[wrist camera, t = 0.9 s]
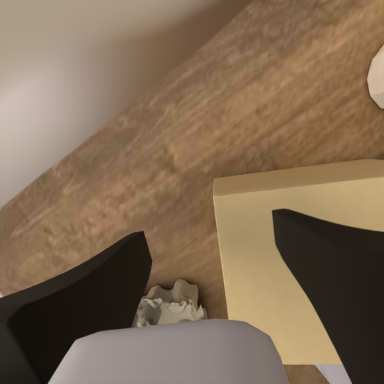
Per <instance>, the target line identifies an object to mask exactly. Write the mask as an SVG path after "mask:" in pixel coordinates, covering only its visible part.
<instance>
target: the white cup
mask: <svg viewBox="0 0 384 384" xmlns="http://www.w3.org/2000/svg"><path fill="white" fill-rule="evenodd" d="M367 82H368V88H369V93H370V97H371V98H372V99H373V100H374V101H375V102H376V103H377V105H378V106H379V107H380V108H381V109H384V45H383V46H382V47H381V49H380V50H379V51H378V53H377V54H376V55H375V57H374V58H373V59H372V62H371V66H370V69H369V73H368V77H367Z"/></svg>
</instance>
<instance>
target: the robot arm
mask: <svg viewBox="0 0 384 384" xmlns="http://www.w3.org/2000/svg"><path fill="white" fill-rule="evenodd" d="M272 218H273V228H274V238H275V245H276V247H277V249H278V251H279V253H280V255H281V257H282V259H283V261H284V262H285V264H286V265H287V267H288V268H289V270H290V272H291V273H292V275H293V276H294V277H295V279H296V280H297V282H298V283H299V285H300V286H301V288H302V289H303V291H304V292H305V294H306V295H307V297H308V299H309V300H310V302H311V304H312V305H313V307H314V309H315V311H316V313H317V315H318V317H319V319H320V320H321V322H322V324H323V326H324V328H325V330H326V332H327V334H328V336H329V338H330V340H331V342H332V344H333V346H334V348H335V350H336V352H337V354H338V356H339V358H340V360H341V362H342V364H343V365H335V364H315V365H316V367H317V368H318V369H319V370H320V372H321V373H322V374H323V375H324V377H325V378H326V379H327V380H328V382H329V384H384V232H382V231H374V230H368V229H362V228H356V227H351V226H346V225H342V224H337V223H333V222H330V221H326V220H322V219H319V218H315V217H312V216H309V215H306V214H303V213H300V212H296V211H293V210H290V209H285V208H282V209H276V210H272ZM151 266H152V258H151V255H150V252H149V248H148V245H147V242H146V238H145V235H144V231H140V232H134V233H131V234H129V235H127V236H126V237H124V238H122V239H121V240H119V241H118V242H116V243H115V244H113V245H112V246H110V247H109V248H107V249H105V250H104V251H102V252H101V253H99V254H97V255H96V256H94V257H92V258H91V259H89V260H88V261H86V262H84V263H82V264H80V265H79V266H77V267H75V268H73V269H71V270H69V271H67V272H65V273H63V274H60V275H58V276H56V277H54V278H51V279H49V280H47V281H45V282H42V283H40V284H37V285H35V286H32V287H30V288H27V289H24V290H22V291H19V292H16V293H13V294H11V295H8V296H5V297H1V298H0V384H290V383H289V380H288V377H287V374H286V371H285V368H284V365H283V363H282V360H281V357H280V355H279V353H278V351H277V349H276V347H275V345H274V343H273V341H272V339H271V337H270V336H269V335H268V334H266V333H264V332H263V331H261V330H259V329H257V328H256V327H254V326H252V325H250V324H249V323H247V322H245V321H238V320H227V319H217V318H216V319H207V320H198V321H189V322H180V323H171V324H161V325H152V326H143V327H134V328H132V324H133V321H134V318H135V315H136V312H137V309H138V307H139V304H140V301H141V299H142V296H143V293H144V290H145V288H146V285H147V282H148V279H149V276H150V271H151Z"/></svg>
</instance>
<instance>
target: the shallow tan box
mask: <svg viewBox="0 0 384 384" xmlns="http://www.w3.org/2000/svg"><path fill="white" fill-rule="evenodd" d="M213 201H214V208H215V216H216V224H217V232H218V239H219V247H220V255H221V263H222V270H223V278H224V286H225V294H226V301H227V309H228V317H229V320H238V321H245V322H247V323H249V324H250V325H252V326H254V327H256V328H257V329H259V330H261V331H263V332H264V333H266V334H268V335H269V336H270V337H271V339H272V341H273V343H274V345H275V347H276V349H277V351H278V353H279V355H280V357H281V360H282V363H283V364H335V365H343V364H342V362H341V360H340V358H339V356H338V354H337V352H336V350H335V348H334V346H333V344H332V342H331V340H330V338H329V336H328V334H327V332H326V330H325V328H324V326H323V324H322V322H321V320H320V319H319V317H318V315H317V313H316V311H315V309H314V307H313V305H312V304H311V302H310V300H309V299H308V297H307V295H306V294H305V292H304V291H303V289H302V288H301V286H300V285H299V283H298V282H297V280H296V279H295V277H294V276H293V275H292V273H291V272H290V270H289V268H288V267H287V265H286V264H285V262H284V261H283V259H282V257H281V255H280V253H279V251H278V249H277V247H276V245H275V238H274V228H273V218H272V210H276V209H282V208H285V209H290V210H293V211H296V212H300V213H303V214H306V215H309V216H312V217H315V218H319V219H322V220H326V221H330V222H333V223H337V224H342V225H346V226H351V227H356V228H362V229H368V230H374V231H382V232H384V160H377V159H360V160H352V161H344V162H336V163H328V164H321V165H313V166H305V167H297V168H289V169H282V170H274V171H266V172H258V173H250V174H243V175H235V176H227V177H219V178H214V187H213Z"/></svg>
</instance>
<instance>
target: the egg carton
mask: <svg viewBox="0 0 384 384" xmlns="http://www.w3.org/2000/svg"><path fill="white" fill-rule="evenodd" d="M197 299H198V288H197V286H196V285H193V284H189V283H187V282H186V281H185V280H182V279H180V280H177V281H176V282H175V284H174V288H173V289H171V290H165V289H163V288H161V287H160V286H159V285H157V286H155V287H151V290H150V291H149V292H148V294H147V296H142V299H141V301H140V304H139V307H138V309H137V312H136V315H135V318H134V321H133V324H132V328H134V327H143V326H152V325H161V324H171V323H180V322H189V321H198V320H207V313H206V308H202V306H201V305H200V306H197Z"/></svg>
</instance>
